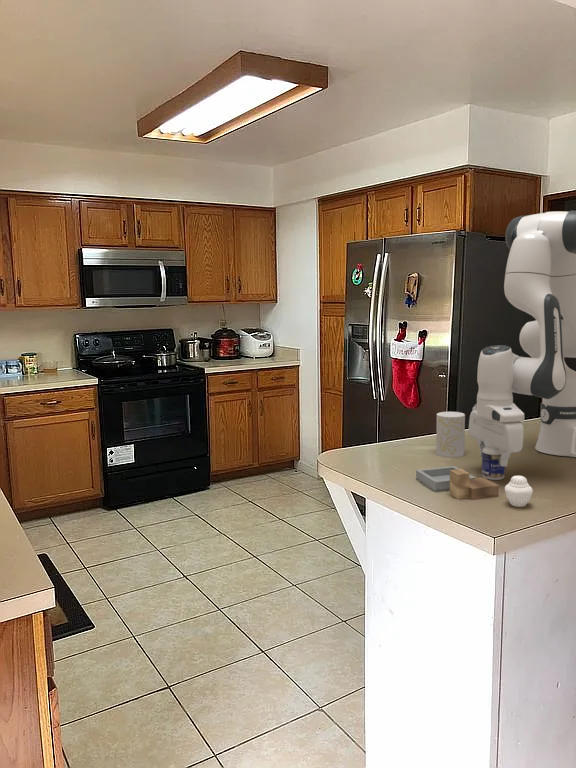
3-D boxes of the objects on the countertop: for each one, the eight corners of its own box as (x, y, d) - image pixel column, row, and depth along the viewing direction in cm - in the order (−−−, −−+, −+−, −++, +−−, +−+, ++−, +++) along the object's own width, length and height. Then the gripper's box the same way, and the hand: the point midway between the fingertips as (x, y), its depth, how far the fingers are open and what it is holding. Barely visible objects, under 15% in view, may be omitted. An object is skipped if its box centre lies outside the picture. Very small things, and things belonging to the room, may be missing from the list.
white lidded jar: (498, 503, 149) (498, 474, 148) (516, 498, 152) (516, 469, 151) (520, 511, 144) (521, 480, 143) (538, 505, 147) (539, 476, 146)
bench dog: (460, 492, 158) (461, 468, 157) (469, 497, 154) (469, 473, 153) (449, 493, 157) (449, 470, 156) (457, 499, 153) (458, 474, 152)
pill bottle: (492, 481, 165) (493, 444, 164) (476, 476, 170) (477, 439, 169) (509, 478, 168) (510, 440, 166) (493, 472, 173) (493, 436, 171)
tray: (454, 475, 172) (454, 466, 171) (475, 487, 161) (475, 477, 161) (416, 479, 169) (416, 470, 169) (435, 491, 159) (435, 482, 158)
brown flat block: (483, 489, 161) (483, 477, 160) (498, 497, 154) (498, 485, 154) (457, 492, 159) (457, 480, 159) (472, 500, 152) (472, 488, 152)
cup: (434, 456, 191) (434, 416, 189) (438, 449, 198) (439, 411, 197) (462, 458, 188) (463, 417, 186) (465, 451, 195) (466, 412, 194)
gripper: (463, 403, 175) (462, 452, 177) (505, 417, 156) (504, 472, 158) (483, 401, 177) (482, 450, 179) (528, 415, 157) (527, 470, 159)
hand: (493, 461), depth 168 cm, fingers open, 7 cm apart
